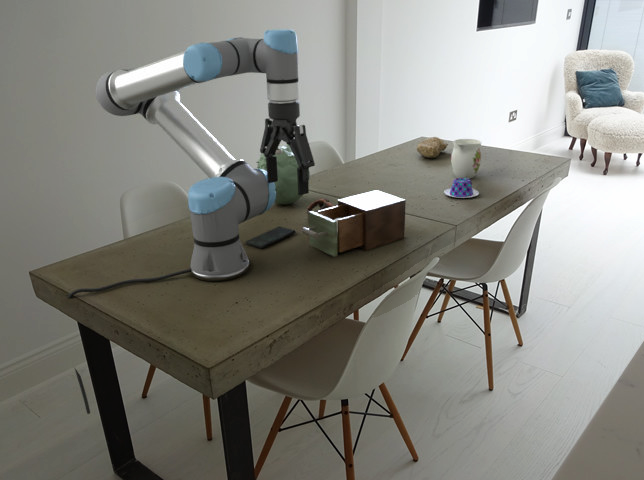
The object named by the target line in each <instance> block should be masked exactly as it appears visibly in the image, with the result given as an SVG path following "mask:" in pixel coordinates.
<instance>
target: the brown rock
mask: <svg viewBox="0 0 644 480" xmlns="http://www.w3.org/2000/svg"><path fill="white" fill-rule="evenodd" d="M448 146H449V143H448V142H447V141H446V140H444V139H442V138H439V137H437V136H431V137H428V138H426V139H424V140H422V141H420V142H419V143H418V144H417V146H416V151H417V153H418V154H419V155H421V156H422V157H425V158H429V159H433V158H436V157H438V156H440V154H441V152H443V151H445V150H446V149H447V147H448Z"/></svg>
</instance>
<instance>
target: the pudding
mask: <svg viewBox="0 0 644 480" xmlns="http://www.w3.org/2000/svg"><path fill="white" fill-rule="evenodd" d="M443 194H444V195H446V196H448V197H452V198H459V199H465V198H467V199H468V198H473V197H476V196H479V194H480V192H479V191H478V190H476V189H475V188H473V183H472V181H471V179H467V178H457V177H456V178H454V179H453V181H452V184H451V187H450V188H447V189H444V191H443Z"/></svg>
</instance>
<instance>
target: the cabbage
mask: <svg viewBox="0 0 644 480" xmlns="http://www.w3.org/2000/svg"><path fill="white" fill-rule="evenodd" d="M275 153H276V154H277V155H274V156H276V157H277V174H278V181H277V182H274V183H275V187H276V189H275V191H276V198H275V202H274V204H275V203H276V204H277V205H283V206H284V205H285V206H287V205H291V204H293V203H295V202H297V201H299V200H300V199H301V198H302V197H303V196H304V194H303V195H298V180H297V168H298V167H299V165H298V163H297V161H296V159H295V157H294V155H293V152H292V150H291V148H290V146H289V145H287V144H286V145H283V146H278V148H277V150H276V152H275ZM255 163H256V164H257V167H256V169H263V170H265V171H266V172H267V167H266V157H265V156H264V154H263V153H261V152H259V159H258V160H257V161H256V162H255ZM302 163H303V162H302ZM310 177H311V171H310V170H309V179H310ZM309 183H310V180H309V181H308V185H309Z"/></svg>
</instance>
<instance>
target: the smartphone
mask: <svg viewBox="0 0 644 480" xmlns="http://www.w3.org/2000/svg"><path fill="white" fill-rule="evenodd" d="M295 233H296V230H295V229H292V228H287V227H283V226H279V225H278V226H276V227H274V228H272V229H270V230H268V231H266V232H263V233H261V234H259V235H257V236H255V237H253V238H250V239H248V240H246V241H245V243H244V244H245V245H248V246H252V247H255V248H258V249H265V248H266V247H268V246H270V245H273V244H274V243H277V242H279V241H281V240H283V239H285V238H287V237H290V236H292V235H293V234H295Z"/></svg>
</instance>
